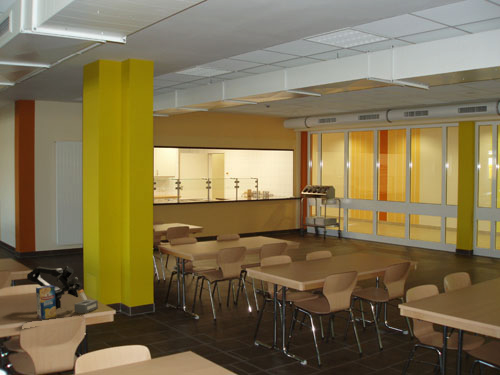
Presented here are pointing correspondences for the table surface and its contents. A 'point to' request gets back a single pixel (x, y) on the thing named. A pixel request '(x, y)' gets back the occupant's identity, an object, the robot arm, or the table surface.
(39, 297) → the blue cracker box
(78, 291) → the breaker lever
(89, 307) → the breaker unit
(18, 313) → the table surface
